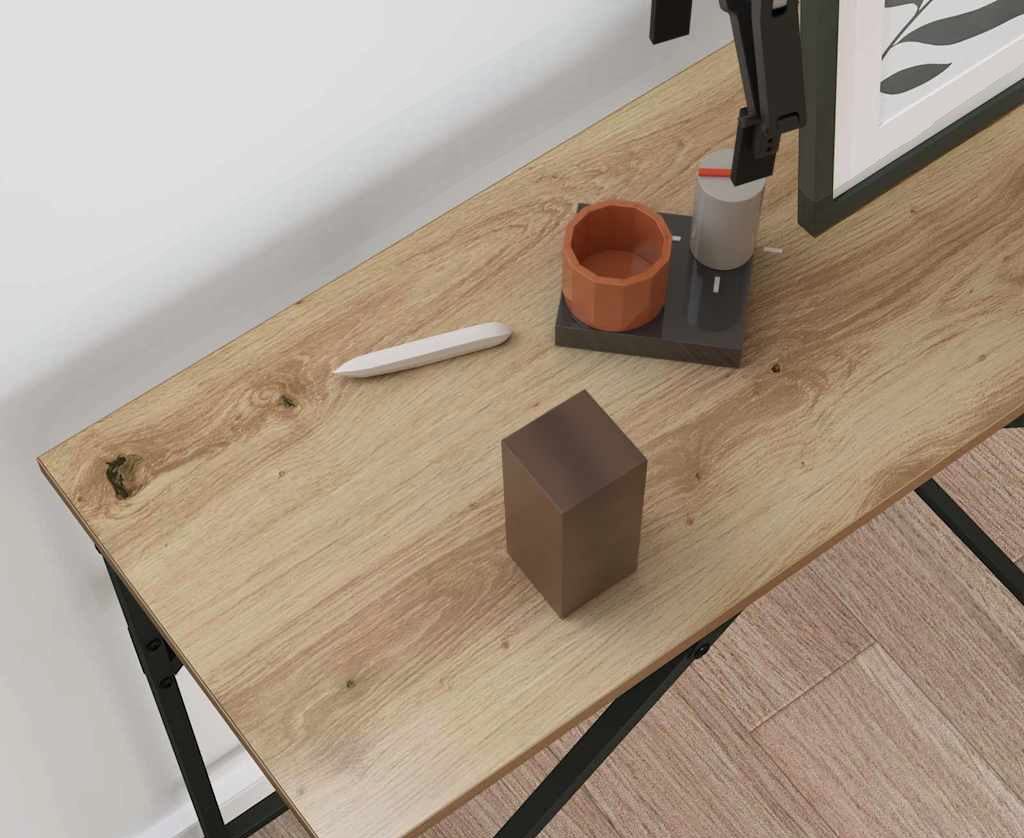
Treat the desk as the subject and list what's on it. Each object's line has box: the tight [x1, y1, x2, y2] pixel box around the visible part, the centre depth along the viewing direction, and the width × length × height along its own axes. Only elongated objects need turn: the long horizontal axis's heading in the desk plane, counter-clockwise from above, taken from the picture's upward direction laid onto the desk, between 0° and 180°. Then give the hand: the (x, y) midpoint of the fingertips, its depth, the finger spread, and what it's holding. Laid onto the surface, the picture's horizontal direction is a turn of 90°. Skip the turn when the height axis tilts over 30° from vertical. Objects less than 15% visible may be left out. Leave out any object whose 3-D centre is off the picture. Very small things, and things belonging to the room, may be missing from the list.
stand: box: [500, 388, 649, 620], centre depth 107 cm, size 7×7×15 cm
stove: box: [554, 202, 783, 369], centre depth 124 cm, size 16×14×3 cm
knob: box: [689, 148, 768, 270], centre depth 120 cm, size 5×5×8 cm
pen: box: [332, 321, 513, 378], centre depth 122 cm, size 2×14×2 cm, turn 107°
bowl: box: [561, 198, 673, 332], centre depth 120 cm, size 8×8×6 cm
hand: (708, 105), depth 109 cm, fingers open, 13 cm apart
